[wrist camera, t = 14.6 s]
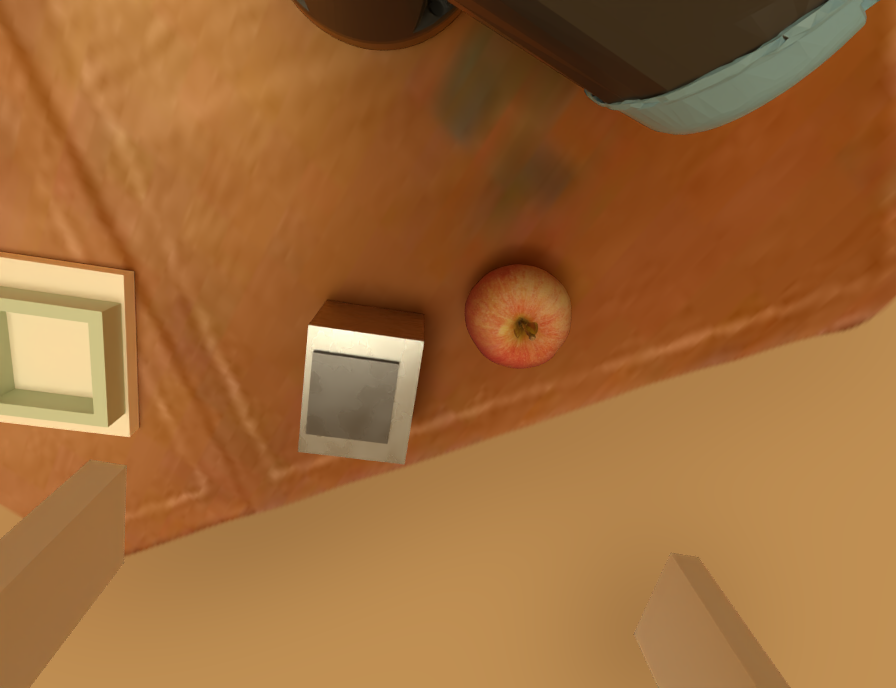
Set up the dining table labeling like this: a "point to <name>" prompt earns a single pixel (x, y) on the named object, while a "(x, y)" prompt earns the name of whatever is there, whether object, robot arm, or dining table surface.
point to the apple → (518, 316)
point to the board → (68, 346)
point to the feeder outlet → (360, 381)
